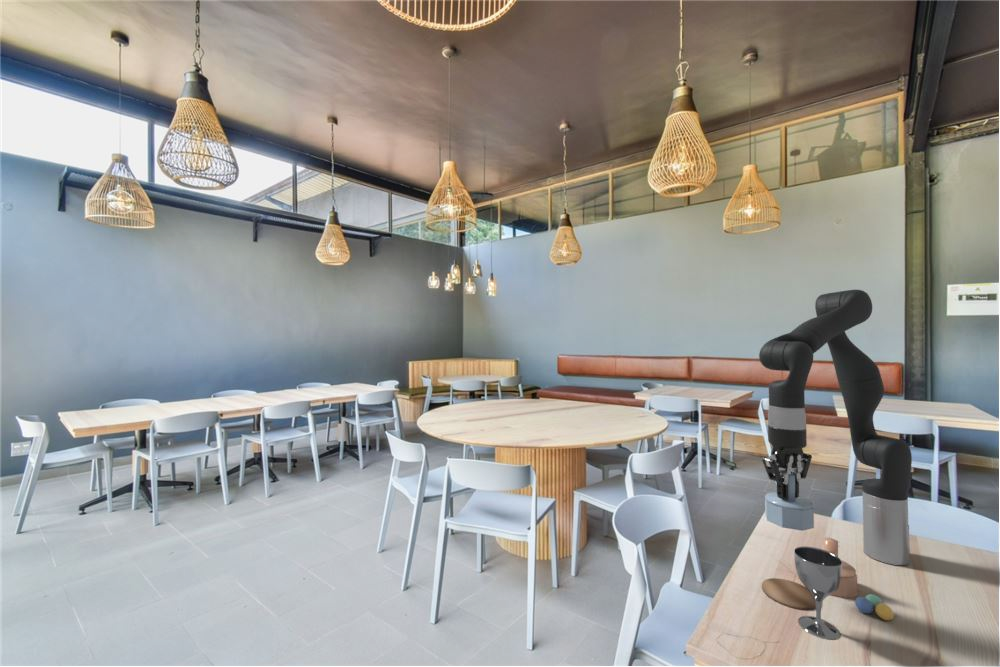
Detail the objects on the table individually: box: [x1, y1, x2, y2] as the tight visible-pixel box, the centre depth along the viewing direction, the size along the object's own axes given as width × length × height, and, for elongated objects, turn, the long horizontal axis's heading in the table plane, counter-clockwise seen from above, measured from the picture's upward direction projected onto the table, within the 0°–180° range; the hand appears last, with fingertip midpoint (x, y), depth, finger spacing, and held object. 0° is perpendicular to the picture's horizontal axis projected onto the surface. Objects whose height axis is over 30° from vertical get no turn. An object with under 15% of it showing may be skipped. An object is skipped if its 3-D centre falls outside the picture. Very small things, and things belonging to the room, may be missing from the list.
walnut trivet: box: [761, 577, 816, 611], centre depth 98 cm, size 11×11×1 cm
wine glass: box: [794, 546, 843, 640], centre depth 87 cm, size 8×8×15 cm
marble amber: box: [874, 603, 895, 621], centre depth 89 cm, size 3×3×3 cm
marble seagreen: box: [864, 594, 884, 611], centre depth 93 cm, size 3×3×3 cm
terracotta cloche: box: [823, 537, 858, 599], centre depth 101 cm, size 9×9×11 cm
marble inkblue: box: [854, 596, 874, 614], centre depth 91 cm, size 3×3×3 cm
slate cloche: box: [764, 473, 815, 531], centre depth 98 cm, size 9×9×11 cm
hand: (787, 497), depth 98 cm, fingers closed on slate cloche, 3 cm apart
